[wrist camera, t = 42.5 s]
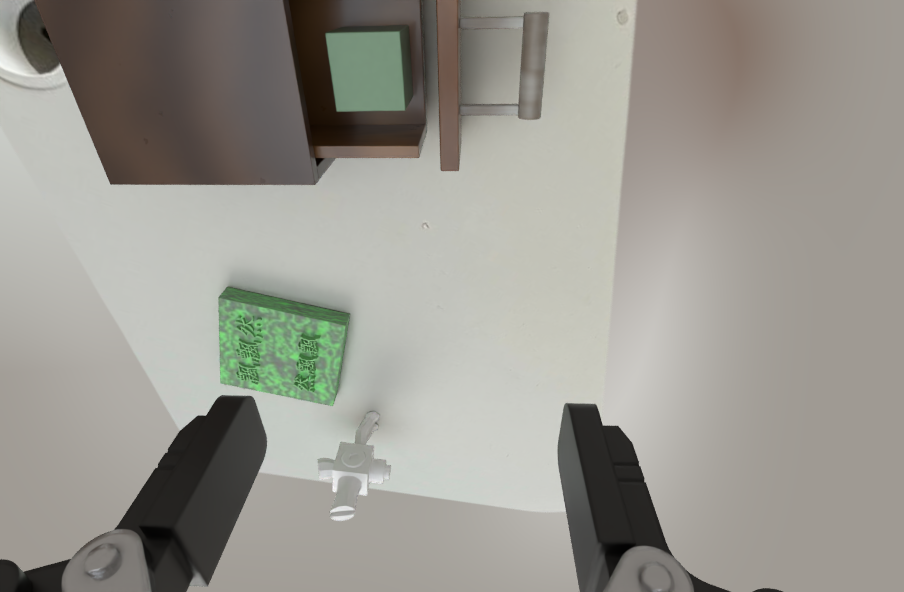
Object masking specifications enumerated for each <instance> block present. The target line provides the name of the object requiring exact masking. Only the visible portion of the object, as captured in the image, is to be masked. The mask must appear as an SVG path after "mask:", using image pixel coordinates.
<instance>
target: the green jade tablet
mask: <svg viewBox="0 0 904 592" xmlns="http://www.w3.org/2000/svg"><path fill="white" fill-rule="evenodd" d="M349 318H350V314H347V313H343V312H338V311H334V310H329V309H325V308H320V307H316V306H311V305H307V304H302V303H298V302H293V301H289V300H284V299H280V298H275V297H271V296H266V295H262V294H257V293H253V292H249V291H244V290H240V289H235V288H231V287H227V288H226V289H225V290H224V292H223V293H222V294H221V295H220V297H219V340H220V383H222V384H227V385H232V386H237V387H242V388H246V389H251V390H256V391H261V392H266V393H271V394H276V395H281V396H286V397H291V398H296V399H300V400H305V401H310V402H315V403H320V404H325V405H330V406H333V404H334V401H335V398H336V395H337V391H338V385H339V379H340V373H341V367H342V360H343V354H344V348H345V342H346V336H347V330H348V324H349Z"/></svg>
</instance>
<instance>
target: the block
mask: <svg viewBox="0 0 904 592" xmlns="http://www.w3.org/2000/svg"><path fill="white" fill-rule="evenodd" d="M325 37H326V43H327V50H328V57H329V64H330V71H331V77H332V84H333V91H334V98H335V105H336V111H337V112H348V111H405V110H406V108H407V107H408V105H409V103H410V101H411V99H412V97H413V86H412V70H411V54H410V38H409V26H408V25H390V26H347V27H340V28H338V29H335V30H332V31H329V32H326V33H325Z"/></svg>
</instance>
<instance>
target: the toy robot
mask: <svg viewBox="0 0 904 592" xmlns="http://www.w3.org/2000/svg"><path fill="white" fill-rule="evenodd" d="M378 420H379V414H377V413H376V412H374V411H373V412H369V413H367V415H366V417H365V419H364V421H363V422H362V423H361V425H360V426H359V427H358V429H357V430H356V435H355V444H354V443H345V442H340V446H339V449H338V453H337V456H336V459H335V460H332V459H329V458H321V459H318V471H319V479H321V480H323V479H327V478H333V492H337V494H336V498H335V500H334V503H333V505H332V508H331V510H330V513H331V514H330V517H331V518H332V519H333V520H337V521H344V520H348V519H350V518H352V517H353V516H354V515H355V510H356V501H357V496H358V495H367V493H368V488H369V484H370V483H372V482H373V483H379V484H383V481H384V479H386V480H389V477H390V470H391V465H386V460H382V459H374V458H373V456H374V446H372V445H366V443H367V441H368V440H369V438H370V437H371V435H372V432H374V431H376V430H378V425H377V424H375V422H376V421H378Z"/></svg>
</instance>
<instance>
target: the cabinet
mask: <svg viewBox="0 0 904 592" xmlns="http://www.w3.org/2000/svg"><path fill="white" fill-rule="evenodd" d="M34 1H35V3H36V6H37V8H38V10H39V13H40V15H41V18H42V20H43V23H44V25H45V27H46V30H47V32H48V35H49V37H50V39H51V42H52V44H53V47H54V49H55V51H56V54H57V56H58V59H59V61H60V64H61V66H62V68H63V71H64V73H65V76H66V78H67V80H68V83H69V85H70V88H71V90H72V93H73V95H74V97H75V100H76V102H77V105H78V107H79V109H80V112H81V114H82V117H83V119H84V122H85V124H86V126H87V129H88V131H89V134H90V136H91V138H92V141H93V143H94V146H95V148H96V150H97V153H98V155H99V158H100V160H101V163H102V165H103V167H104V170H105V172H106V175H107V177H108V179H109V182H110V184H131V185H315V184H316V183H317V182H318V181H319V179H320V178H321V176H322V175H323V174H324V173H325V171H326V170H327V169H328V168H329V166H330V165H331V164H332V162H333V161H334V160H335V159H336V158H315V155H314V149H313V143H312V137H311V131H310V125H309V119H308V113H307V107H306V101H305V95H304V89H303V83H302V78H301V72H300V66H299V60H298V54H297V48H296V42H295V36H294V30H293V24H292V18H291V12H290V7H289V1H288V0H34Z"/></svg>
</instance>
